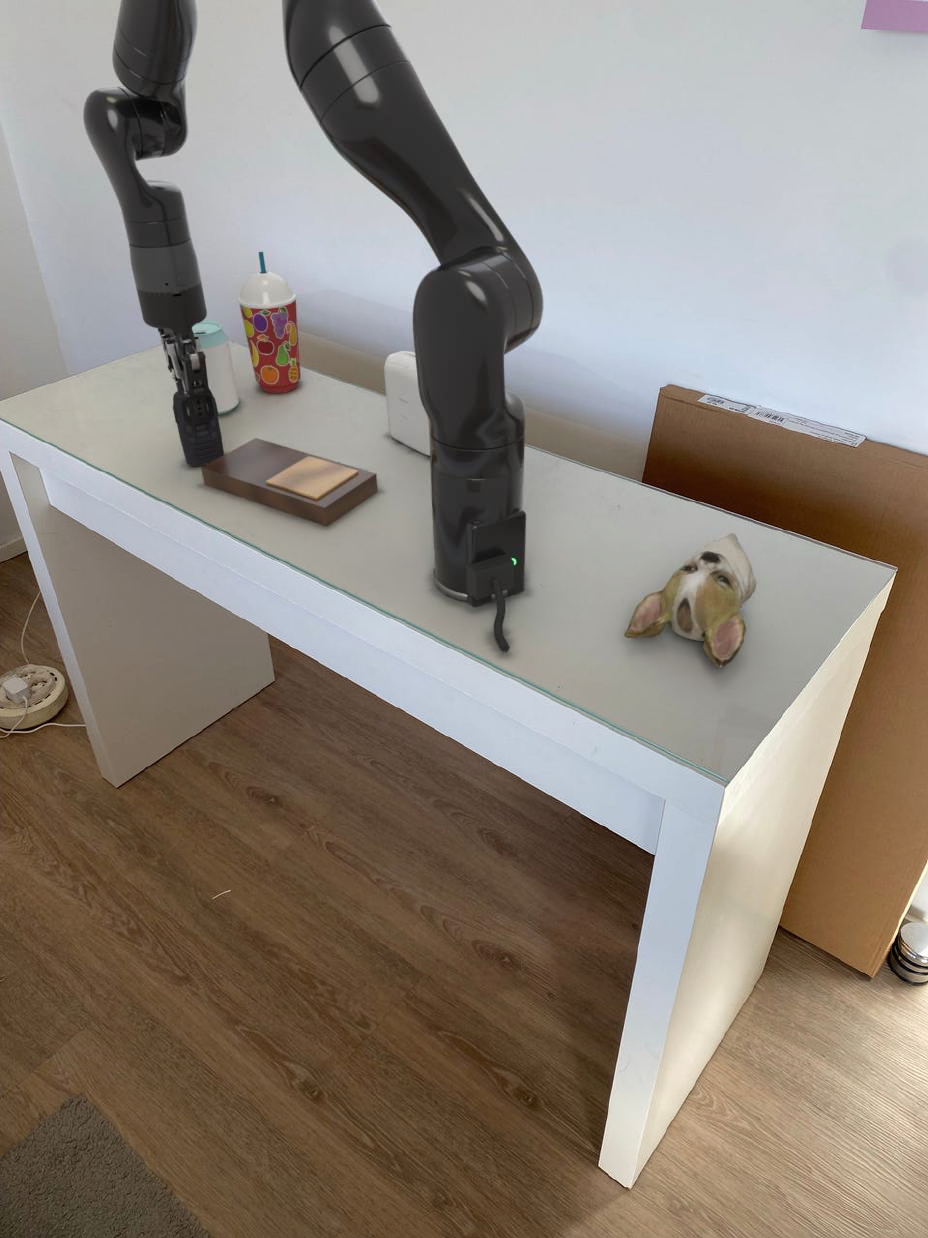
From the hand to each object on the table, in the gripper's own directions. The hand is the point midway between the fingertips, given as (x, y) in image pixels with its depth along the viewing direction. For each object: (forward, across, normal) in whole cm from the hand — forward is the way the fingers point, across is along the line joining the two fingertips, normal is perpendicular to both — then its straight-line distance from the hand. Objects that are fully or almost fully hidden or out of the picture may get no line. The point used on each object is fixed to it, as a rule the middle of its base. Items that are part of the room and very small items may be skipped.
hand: (195, 414), depth 118 cm
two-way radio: (+7, 0, 0) cm, 7 cm away
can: (+7, -16, +6) cm, 18 cm away
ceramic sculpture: (+7, +61, +33) cm, 70 cm away
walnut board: (+6, +14, +7) cm, 17 cm away
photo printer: (+7, +10, +27) cm, 30 cm away
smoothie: (+7, -19, +17) cm, 26 cm away
